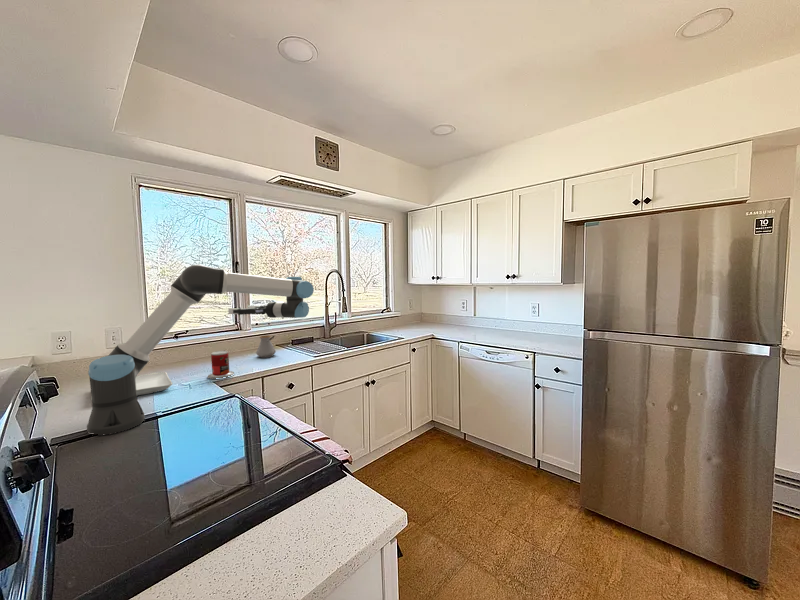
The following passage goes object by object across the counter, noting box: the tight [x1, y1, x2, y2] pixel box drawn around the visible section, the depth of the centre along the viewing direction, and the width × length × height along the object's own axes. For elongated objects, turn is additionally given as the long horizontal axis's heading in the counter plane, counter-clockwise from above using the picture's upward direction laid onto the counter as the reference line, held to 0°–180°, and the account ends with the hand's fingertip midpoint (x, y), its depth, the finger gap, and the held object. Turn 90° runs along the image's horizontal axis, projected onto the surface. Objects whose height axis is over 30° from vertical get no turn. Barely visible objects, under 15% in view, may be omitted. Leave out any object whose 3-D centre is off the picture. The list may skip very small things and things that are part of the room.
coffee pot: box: [255, 335, 277, 359], centre depth 210 cm, size 21×12×15 cm, turn 41°
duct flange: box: [207, 370, 235, 380], centre depth 173 cm, size 12×12×1 cm
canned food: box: [210, 350, 230, 376], centre depth 172 cm, size 8×8×11 cm
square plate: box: [90, 371, 173, 402], centre depth 153 cm, size 27×27×4 cm
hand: (238, 309), depth 167 cm, fingers open, 13 cm apart
